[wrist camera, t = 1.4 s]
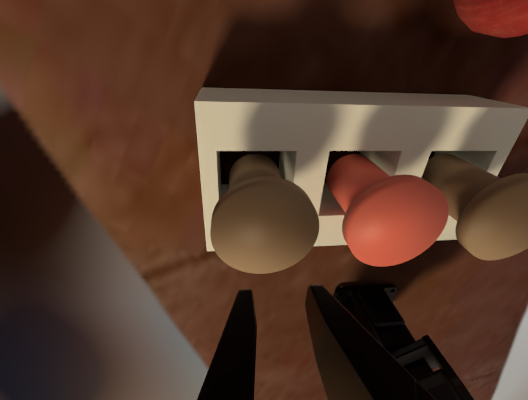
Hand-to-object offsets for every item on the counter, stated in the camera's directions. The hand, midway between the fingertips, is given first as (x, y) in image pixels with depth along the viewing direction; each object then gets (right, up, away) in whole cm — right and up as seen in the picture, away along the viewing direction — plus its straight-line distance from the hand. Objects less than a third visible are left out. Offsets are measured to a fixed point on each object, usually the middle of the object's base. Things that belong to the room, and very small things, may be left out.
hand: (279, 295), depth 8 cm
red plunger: (+5, +5, +8) cm, 11 cm away
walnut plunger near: (-1, +4, +7) cm, 9 cm away
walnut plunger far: (+11, +5, +9) cm, 15 cm away
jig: (+5, +6, +11) cm, 13 cm away
